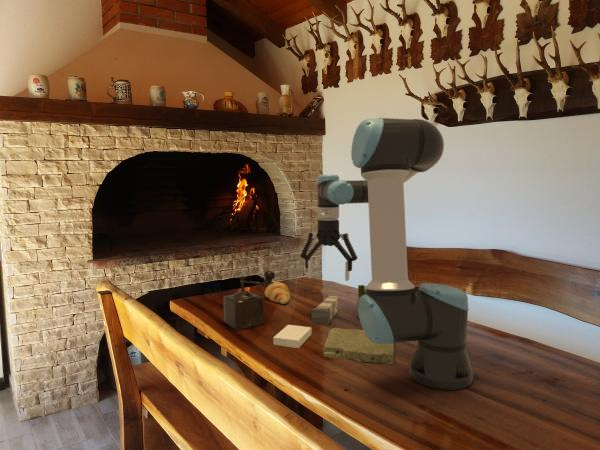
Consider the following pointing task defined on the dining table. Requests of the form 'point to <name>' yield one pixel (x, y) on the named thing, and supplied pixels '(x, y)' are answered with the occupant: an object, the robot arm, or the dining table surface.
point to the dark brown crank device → (245, 305)
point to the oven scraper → (325, 311)
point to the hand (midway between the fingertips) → (328, 278)
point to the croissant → (278, 292)
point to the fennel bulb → (361, 294)
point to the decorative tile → (357, 347)
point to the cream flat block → (292, 336)
